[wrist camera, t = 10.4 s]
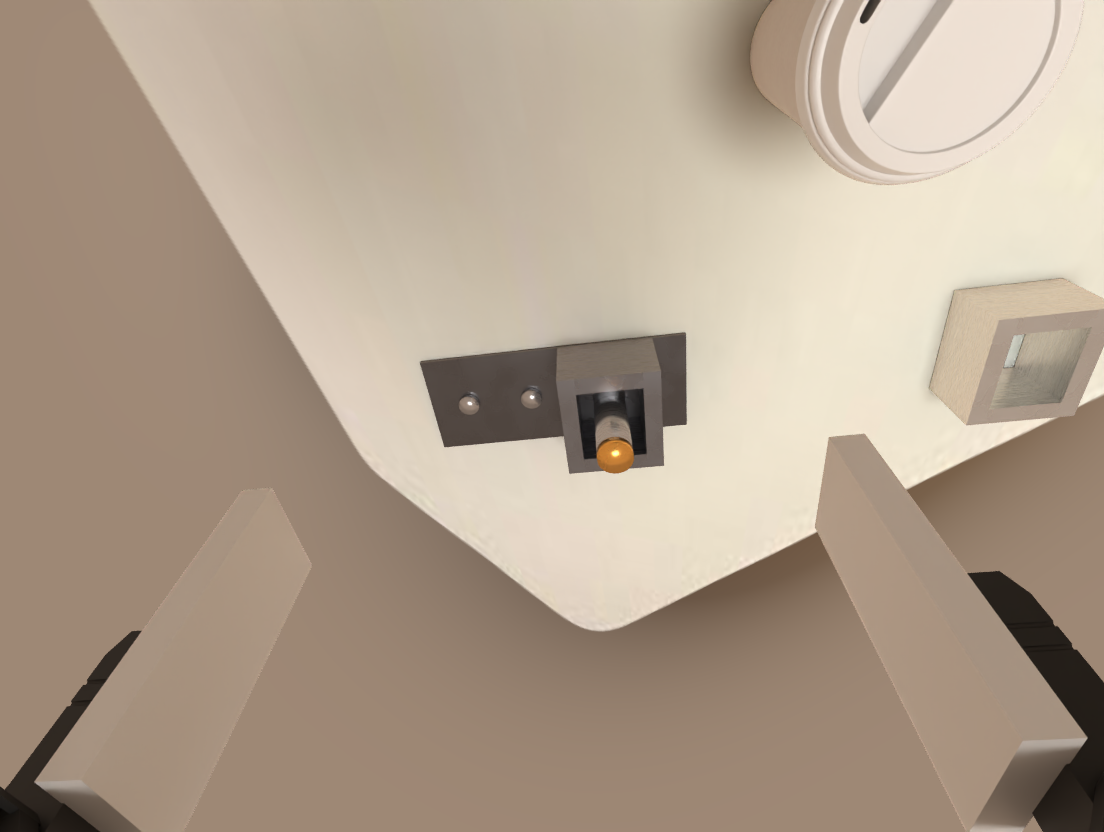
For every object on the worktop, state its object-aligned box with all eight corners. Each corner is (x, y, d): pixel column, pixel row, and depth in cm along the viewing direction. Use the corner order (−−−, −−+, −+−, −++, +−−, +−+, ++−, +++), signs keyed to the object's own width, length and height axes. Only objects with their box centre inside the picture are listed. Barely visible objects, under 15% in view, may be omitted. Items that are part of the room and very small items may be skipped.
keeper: (420, 361, 44) (390, 429, 37) (685, 332, 43) (710, 397, 35) (445, 445, 49) (422, 521, 41) (686, 422, 47) (708, 497, 39)
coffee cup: (845, -116, 29) (1055, -227, 16) (928, 49, 33) (1151, 60, 20) (688, 41, 33) (762, 46, 20) (778, 172, 36) (888, 246, 24)
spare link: (954, 290, 40) (998, 320, 36) (1062, 278, 40) (1120, 307, 36) (929, 388, 45) (966, 425, 41) (1026, 379, 44) (1074, 415, 40)
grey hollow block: (557, 347, 43) (556, 381, 39) (652, 337, 43) (660, 370, 38) (569, 434, 48) (569, 473, 43) (655, 427, 47) (663, 465, 43)
